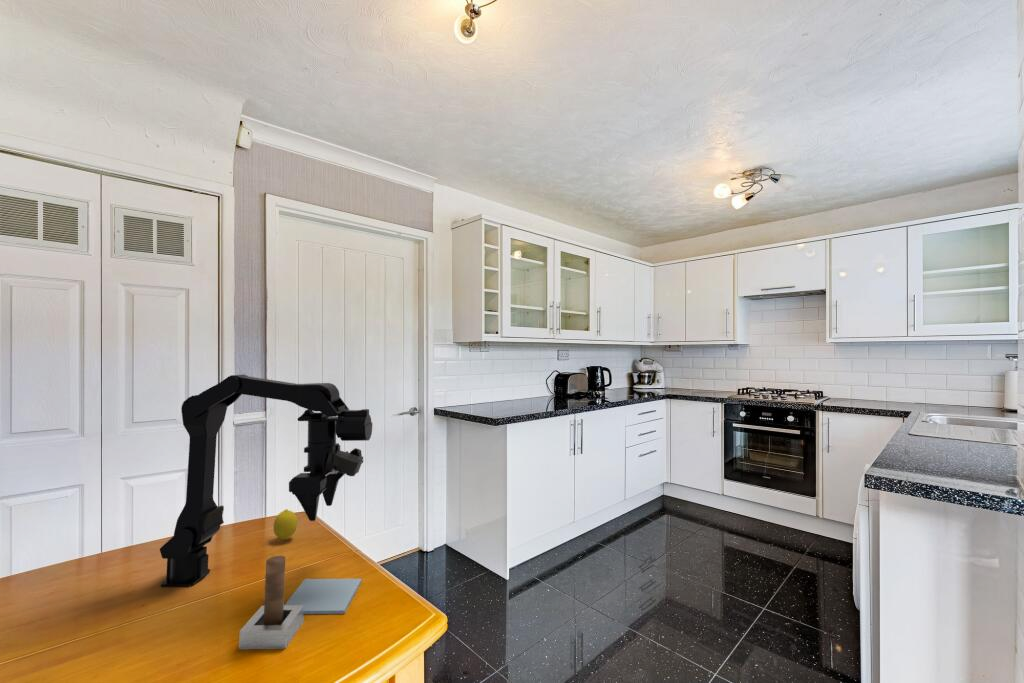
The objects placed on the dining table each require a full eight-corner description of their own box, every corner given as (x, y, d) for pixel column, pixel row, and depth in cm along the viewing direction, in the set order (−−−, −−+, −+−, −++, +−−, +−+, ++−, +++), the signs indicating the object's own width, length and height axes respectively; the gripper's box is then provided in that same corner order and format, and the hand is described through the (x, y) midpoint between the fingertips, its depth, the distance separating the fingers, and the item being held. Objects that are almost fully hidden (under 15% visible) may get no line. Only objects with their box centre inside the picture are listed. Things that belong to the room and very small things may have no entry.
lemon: (300, 536, 119) (302, 506, 119) (288, 545, 114) (289, 513, 114) (281, 535, 120) (282, 505, 120) (268, 544, 114) (269, 512, 114)
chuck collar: (238, 649, 74) (239, 630, 74) (261, 622, 82) (262, 605, 82) (285, 648, 74) (286, 630, 75) (303, 621, 82) (304, 605, 82)
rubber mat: (279, 614, 84) (279, 611, 84) (305, 581, 96) (305, 579, 96) (344, 613, 85) (344, 610, 85) (361, 581, 97) (361, 578, 97)
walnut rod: (259, 640, 76) (262, 563, 77) (268, 629, 79) (271, 555, 80) (277, 640, 77) (280, 563, 77) (285, 629, 80) (288, 555, 80)
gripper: (344, 449, 89) (344, 528, 88) (370, 433, 108) (370, 498, 107) (287, 450, 88) (287, 529, 88) (324, 433, 107) (323, 499, 107)
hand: (321, 512), depth 97 cm, fingers open, 9 cm apart
